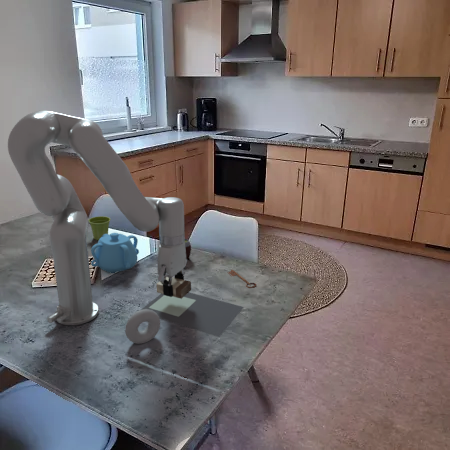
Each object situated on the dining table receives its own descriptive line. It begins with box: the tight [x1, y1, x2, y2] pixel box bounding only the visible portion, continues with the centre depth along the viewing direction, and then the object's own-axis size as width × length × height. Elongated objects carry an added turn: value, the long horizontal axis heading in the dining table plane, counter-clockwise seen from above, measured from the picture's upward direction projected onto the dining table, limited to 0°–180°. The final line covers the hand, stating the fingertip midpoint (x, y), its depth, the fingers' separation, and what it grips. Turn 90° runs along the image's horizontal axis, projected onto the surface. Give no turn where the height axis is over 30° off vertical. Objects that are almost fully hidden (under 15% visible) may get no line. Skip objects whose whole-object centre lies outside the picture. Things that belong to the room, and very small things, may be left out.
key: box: [227, 269, 257, 289], centre depth 150 cm, size 6×1×15 cm
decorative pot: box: [90, 232, 140, 275], centre depth 154 cm, size 16×16×14 cm
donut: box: [124, 308, 161, 345], centre depth 112 cm, size 10×4×10 cm, turn 125°
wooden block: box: [156, 276, 192, 299], centre depth 129 cm, size 9×6×3 cm
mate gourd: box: [185, 238, 192, 261], centre depth 163 cm, size 8×8×15 cm
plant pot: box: [88, 215, 111, 241], centre depth 182 cm, size 9×9×9 cm
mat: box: [140, 291, 245, 338], centre depth 129 cm, size 18×28×1 cm, turn 65°
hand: (173, 290), depth 130 cm, fingers closed on wooden block, 5 cm apart
